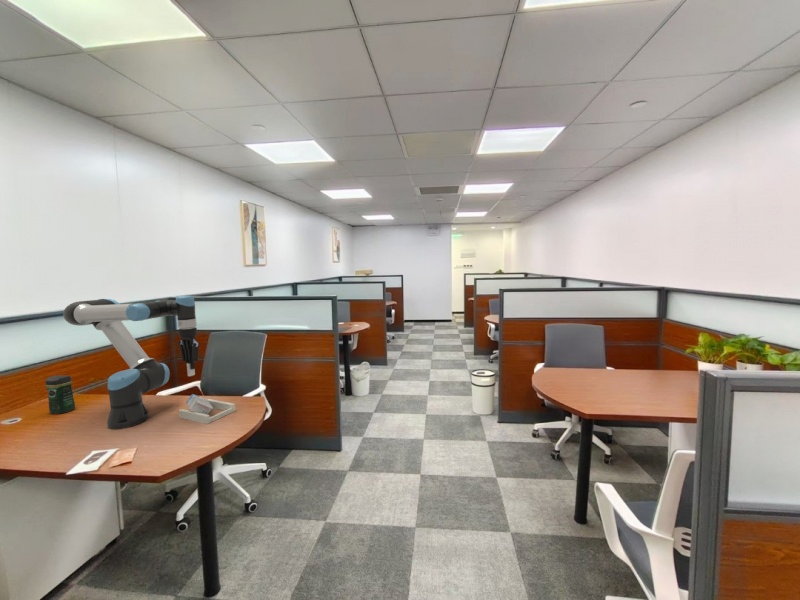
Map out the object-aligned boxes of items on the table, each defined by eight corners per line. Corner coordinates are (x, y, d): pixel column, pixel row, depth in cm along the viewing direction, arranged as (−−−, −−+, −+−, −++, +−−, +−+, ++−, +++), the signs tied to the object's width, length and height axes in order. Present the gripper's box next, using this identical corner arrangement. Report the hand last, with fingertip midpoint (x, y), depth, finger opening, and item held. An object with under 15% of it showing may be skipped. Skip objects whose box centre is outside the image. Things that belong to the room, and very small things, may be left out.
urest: (179, 417, 161) (179, 410, 161) (208, 405, 175) (208, 398, 174) (207, 423, 153) (206, 416, 153) (235, 410, 167) (234, 403, 167)
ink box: (185, 402, 166) (190, 411, 155) (192, 393, 168) (197, 401, 156) (202, 409, 171) (207, 418, 159) (208, 400, 172) (214, 408, 161)
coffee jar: (79, 408, 177) (74, 373, 175) (61, 414, 169) (56, 378, 167) (63, 407, 178) (59, 373, 177) (46, 414, 171) (40, 378, 169)
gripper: (170, 328, 163) (175, 376, 165) (188, 330, 158) (192, 379, 160) (186, 325, 170) (190, 371, 172) (203, 327, 164) (207, 374, 167)
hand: (191, 375), depth 166 cm, fingers closed
